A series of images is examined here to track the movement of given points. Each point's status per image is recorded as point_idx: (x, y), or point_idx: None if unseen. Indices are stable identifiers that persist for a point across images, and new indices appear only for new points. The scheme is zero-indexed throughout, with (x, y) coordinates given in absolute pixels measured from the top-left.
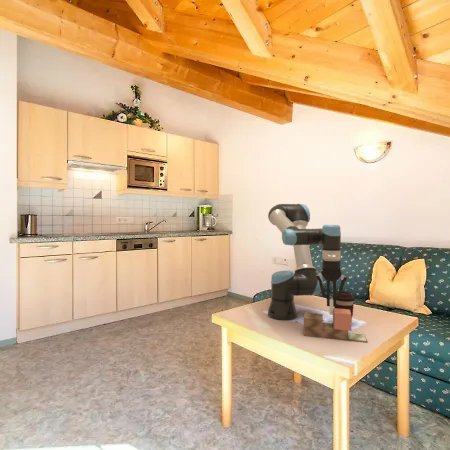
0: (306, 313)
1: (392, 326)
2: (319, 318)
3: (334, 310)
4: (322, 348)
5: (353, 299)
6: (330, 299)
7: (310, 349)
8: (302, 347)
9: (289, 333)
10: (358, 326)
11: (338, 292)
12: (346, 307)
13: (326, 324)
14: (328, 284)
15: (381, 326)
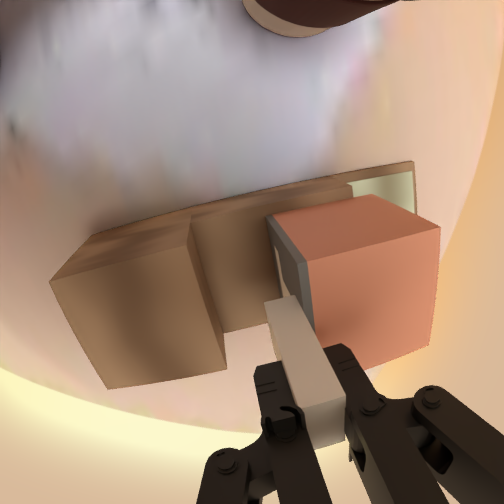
0: (71, 298)
1: (483, 3)
2: (198, 358)
3: (318, 332)
4: (246, 394)
5: None
6: (314, 444)
7: (209, 417)
8: (178, 416)
9: (65, 327)
10: (375, 26)
11: (449, 445)
12: (376, 8)
13: (227, 257)
14: None
15: (456, 7)
